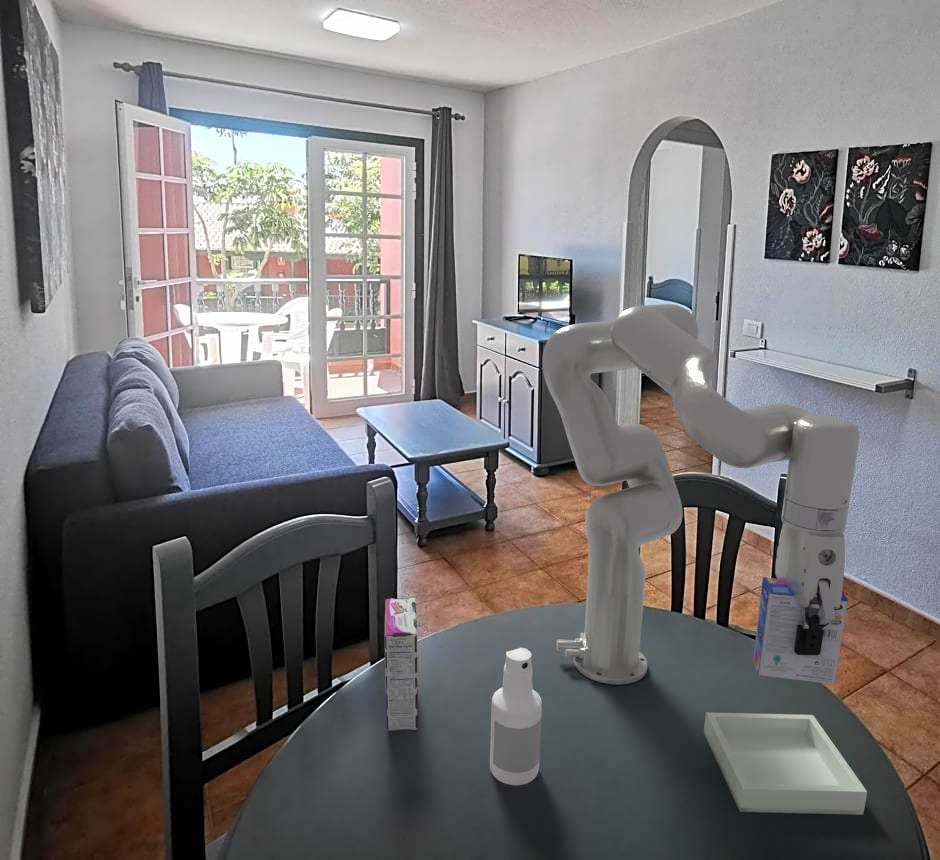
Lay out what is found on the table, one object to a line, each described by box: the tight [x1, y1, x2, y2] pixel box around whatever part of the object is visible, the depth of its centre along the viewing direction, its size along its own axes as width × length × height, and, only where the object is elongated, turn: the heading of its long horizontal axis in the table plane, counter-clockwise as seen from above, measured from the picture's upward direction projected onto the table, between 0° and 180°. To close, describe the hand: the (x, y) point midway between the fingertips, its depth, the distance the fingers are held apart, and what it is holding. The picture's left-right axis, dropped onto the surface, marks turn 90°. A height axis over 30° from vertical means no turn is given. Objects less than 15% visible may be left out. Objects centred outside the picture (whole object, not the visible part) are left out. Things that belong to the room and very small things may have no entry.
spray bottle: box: [489, 647, 543, 786], centre depth 101 cm, size 7×7×18 cm
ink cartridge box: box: [752, 577, 849, 685], centre depth 99 cm, size 10×6×14 cm, turn 79°
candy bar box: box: [384, 597, 419, 732], centre depth 114 cm, size 11×5×16 cm, turn 6°
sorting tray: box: [703, 711, 868, 816], centre depth 104 cm, size 16×16×4 cm
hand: (796, 639), depth 99 cm, fingers closed on ink cartridge box, 6 cm apart
